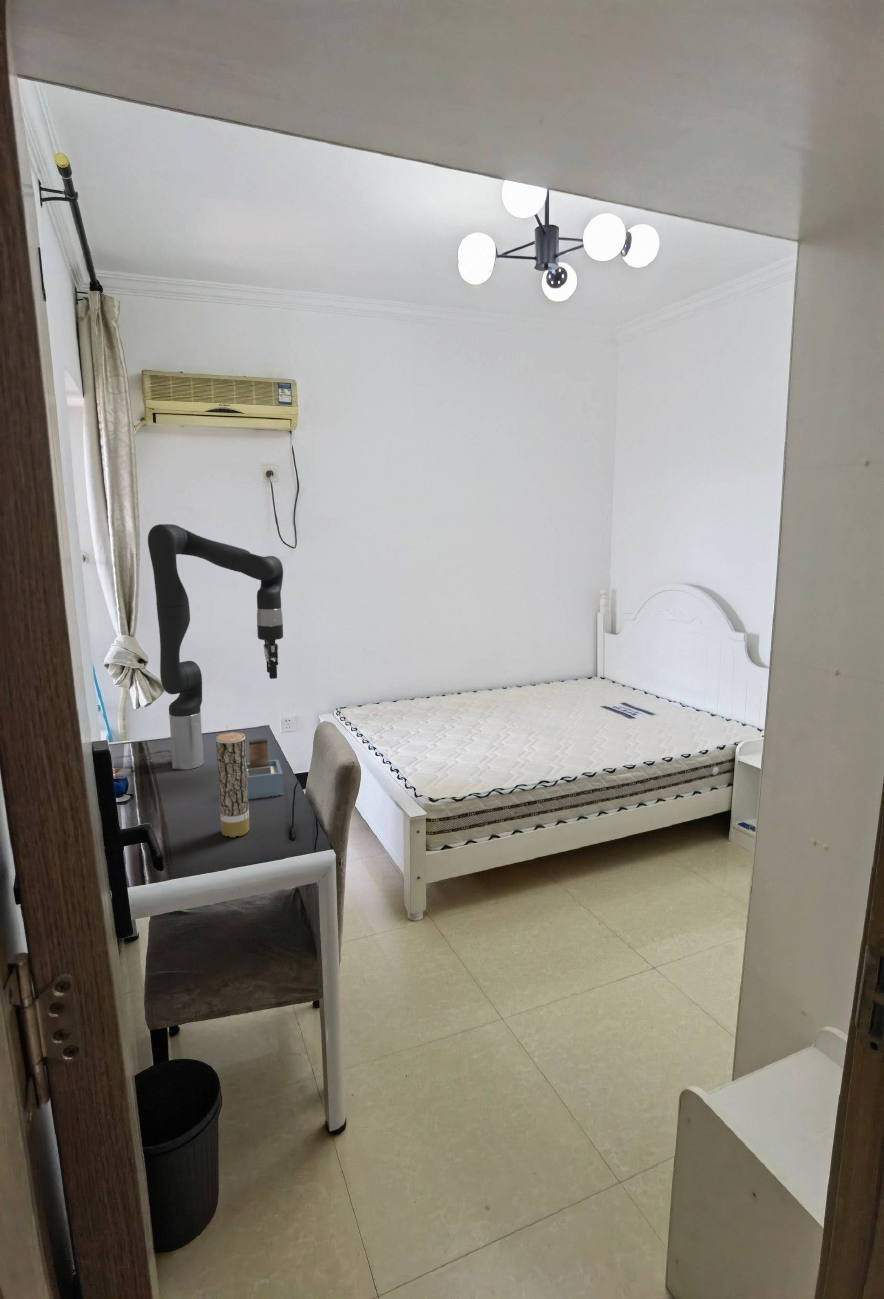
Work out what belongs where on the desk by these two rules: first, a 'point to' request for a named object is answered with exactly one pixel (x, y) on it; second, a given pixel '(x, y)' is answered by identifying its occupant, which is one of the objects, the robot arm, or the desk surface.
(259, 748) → the wooden plank
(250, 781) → the blue open box
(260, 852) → the desk surface
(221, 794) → the bark log cylinder
